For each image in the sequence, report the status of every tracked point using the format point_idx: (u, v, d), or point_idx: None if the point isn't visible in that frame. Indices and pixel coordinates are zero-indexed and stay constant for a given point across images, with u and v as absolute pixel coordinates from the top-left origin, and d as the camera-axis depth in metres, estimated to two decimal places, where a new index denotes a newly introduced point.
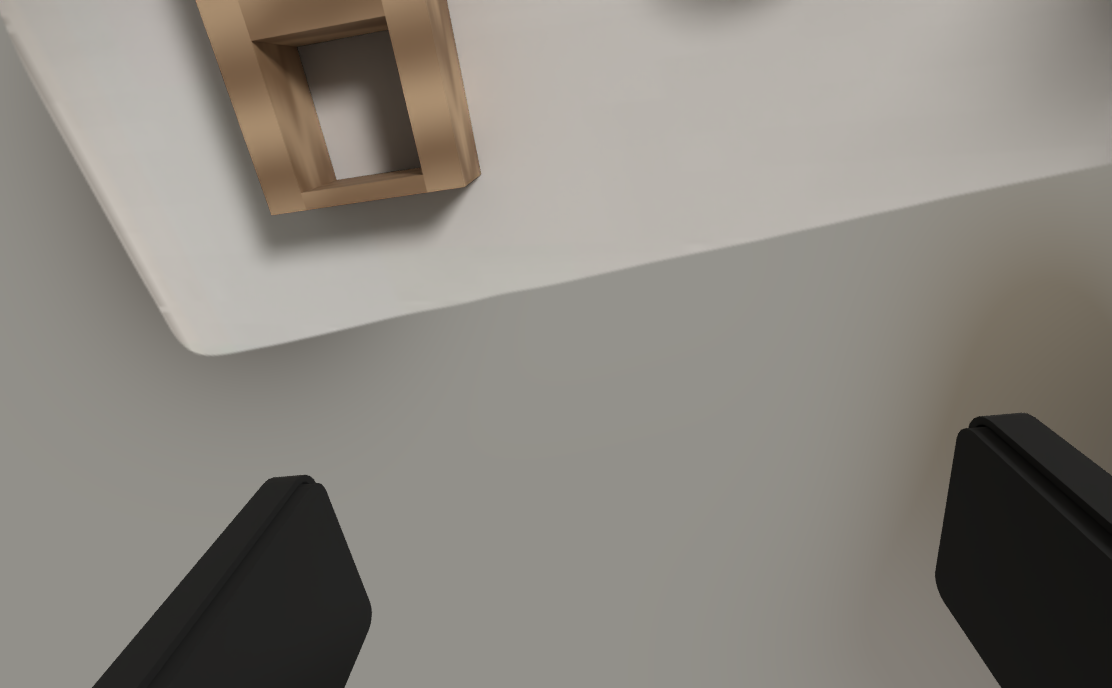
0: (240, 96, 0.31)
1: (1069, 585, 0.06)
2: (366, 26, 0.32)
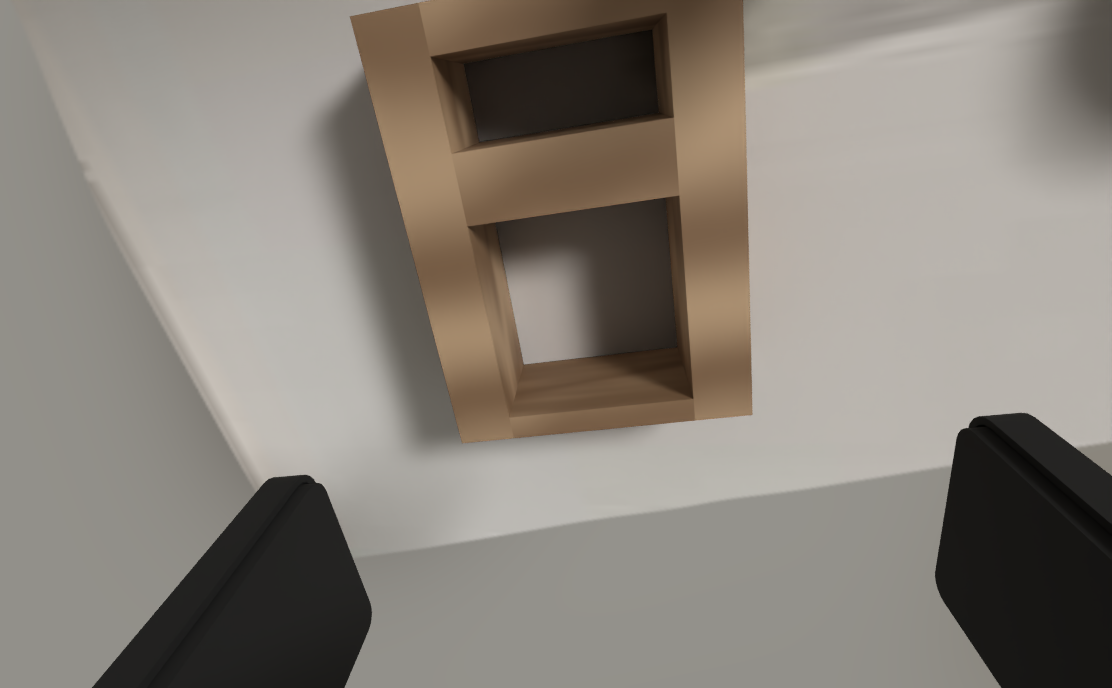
0: (440, 296, 0.21)
1: (1069, 585, 0.06)
2: None
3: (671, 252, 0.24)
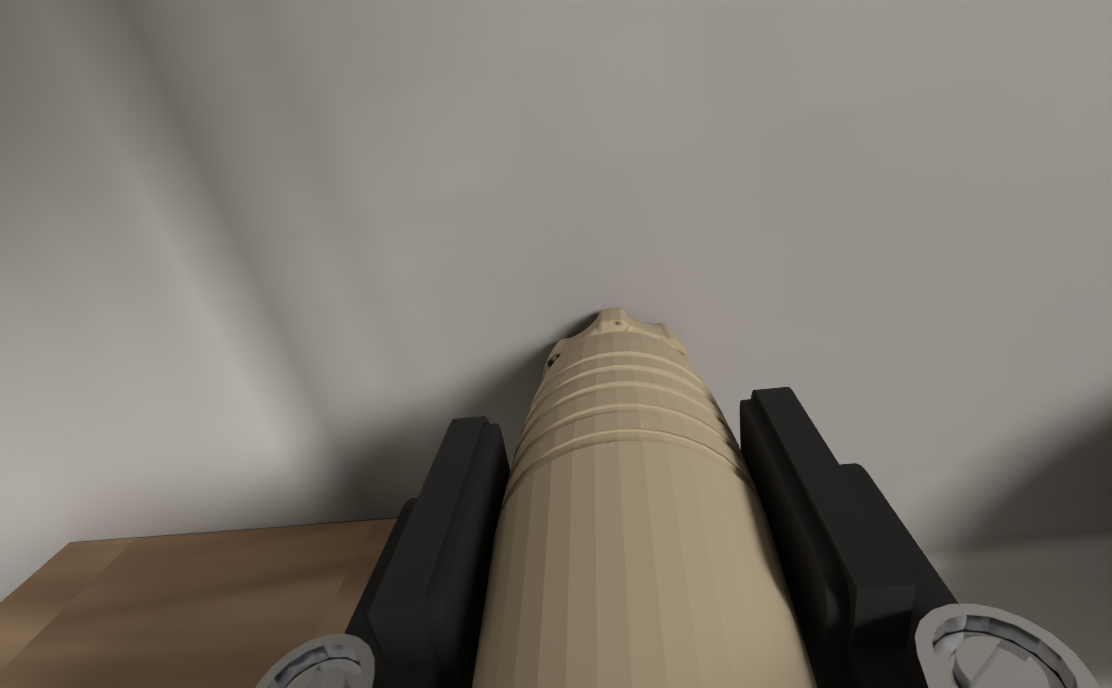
0: None
1: (776, 520, 0.07)
2: None
3: None
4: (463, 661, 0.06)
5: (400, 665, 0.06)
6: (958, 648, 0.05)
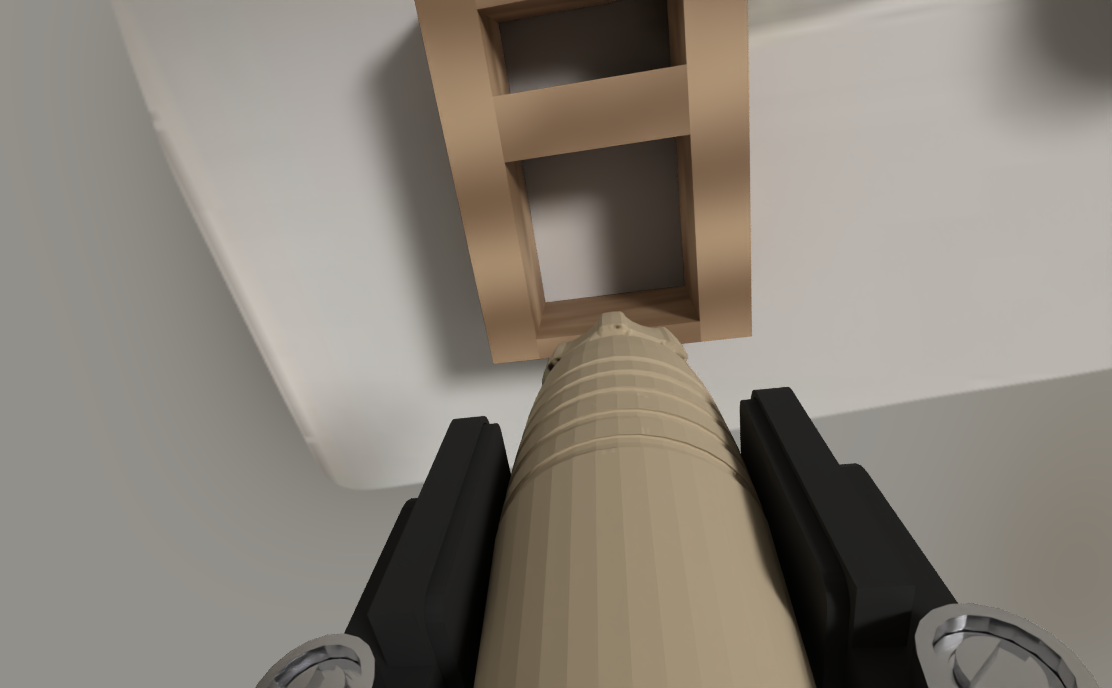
0: (478, 227, 0.24)
1: (777, 520, 0.07)
2: None
3: (680, 195, 0.27)
4: (463, 661, 0.06)
5: (400, 665, 0.06)
6: (958, 648, 0.05)
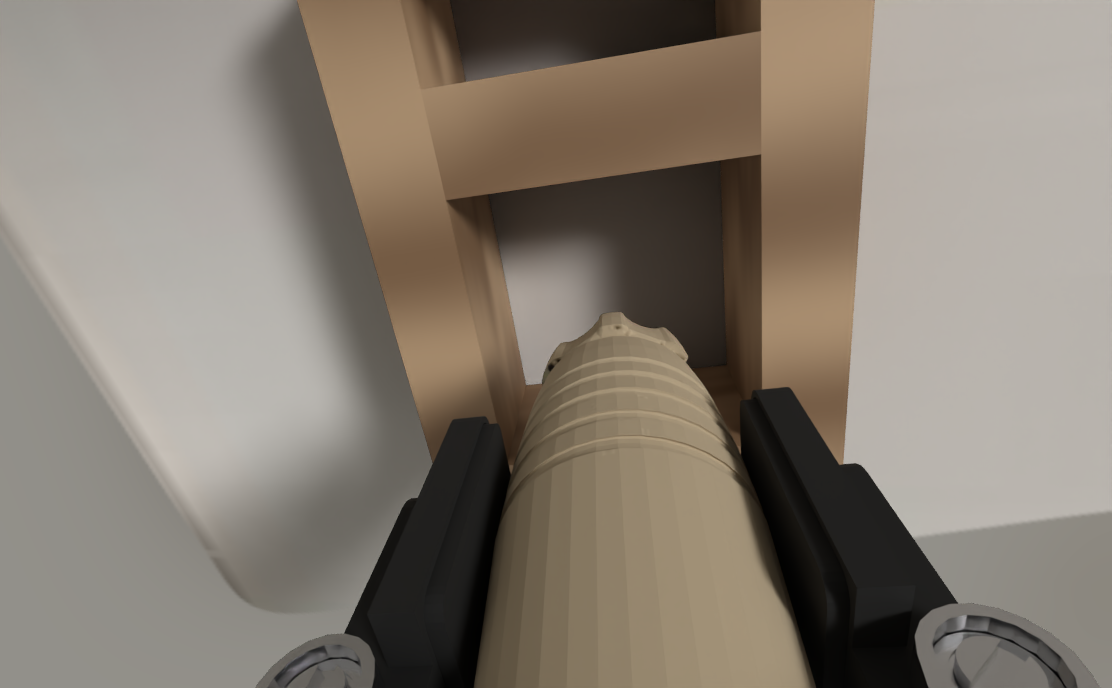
0: (408, 301, 0.15)
1: (776, 520, 0.07)
2: None
3: (727, 240, 0.18)
4: (463, 661, 0.06)
5: (400, 665, 0.06)
6: (958, 648, 0.05)
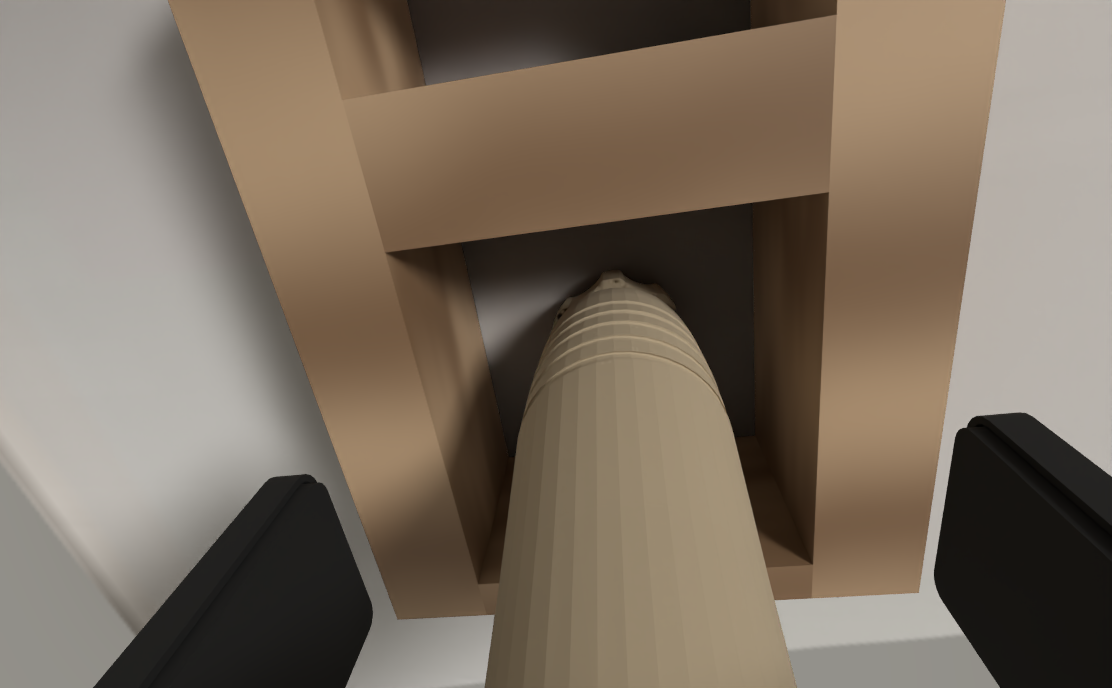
0: (341, 383, 0.11)
1: (1067, 584, 0.06)
2: None
3: (761, 289, 0.14)
4: None
5: None
6: None
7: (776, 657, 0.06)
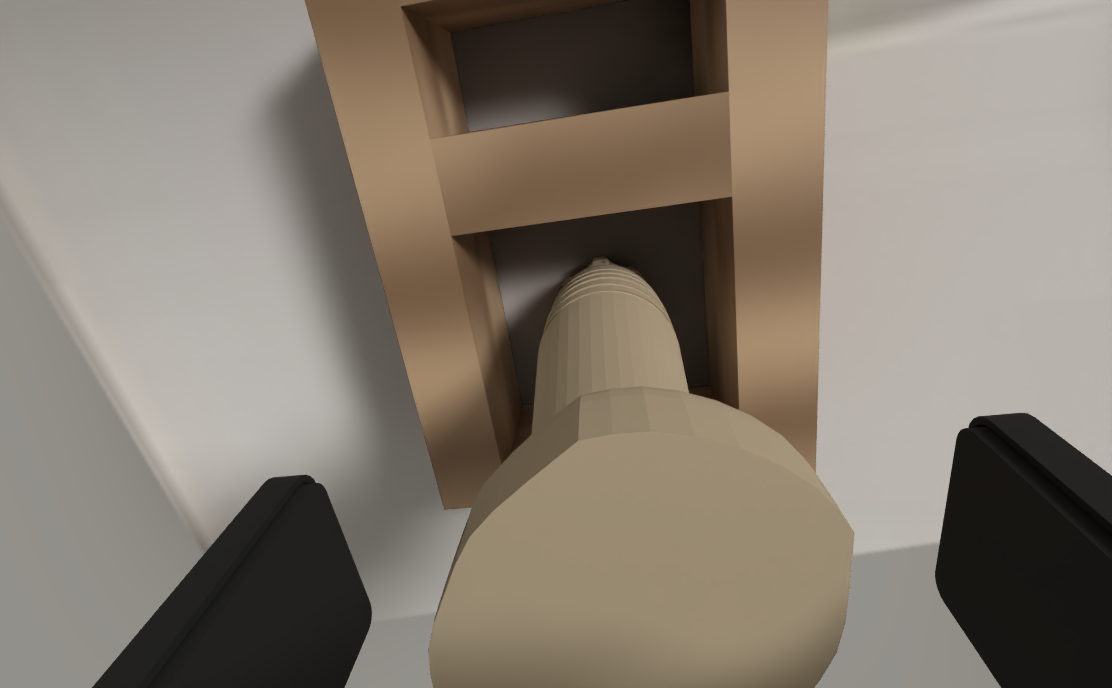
0: (415, 327, 0.17)
1: (1069, 585, 0.06)
2: None
3: (707, 270, 0.20)
4: None
5: None
6: None
7: None
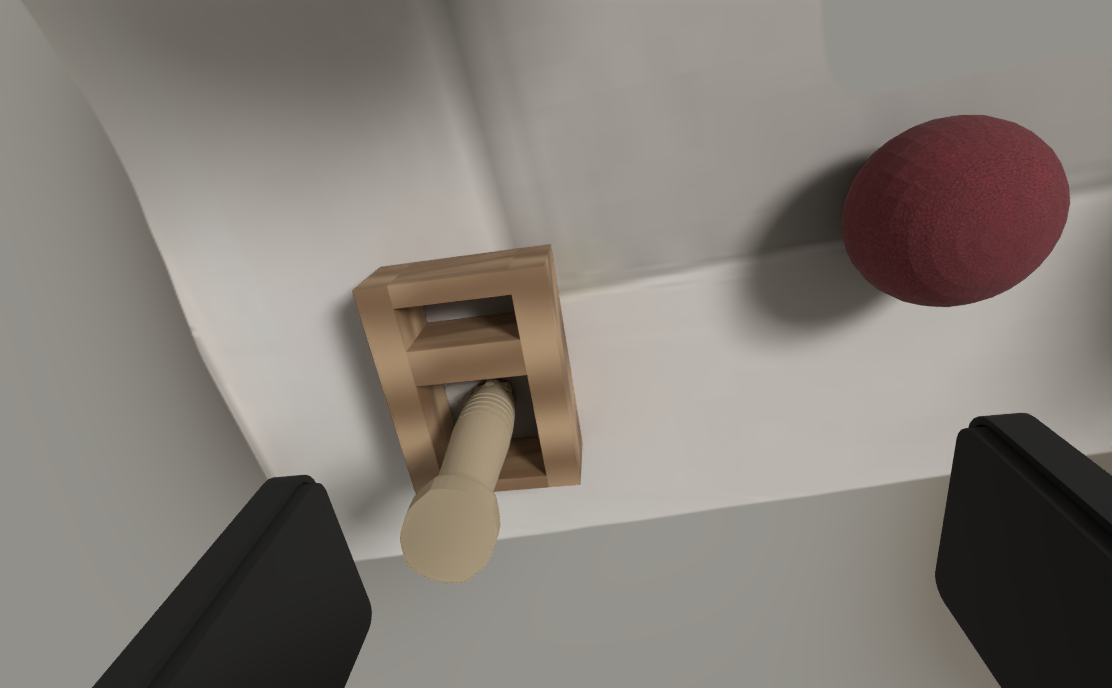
0: (401, 420, 0.38)
1: (1069, 585, 0.06)
2: None
3: None
4: None
5: None
6: None
7: (486, 468, 0.33)
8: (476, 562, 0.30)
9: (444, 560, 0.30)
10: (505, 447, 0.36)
